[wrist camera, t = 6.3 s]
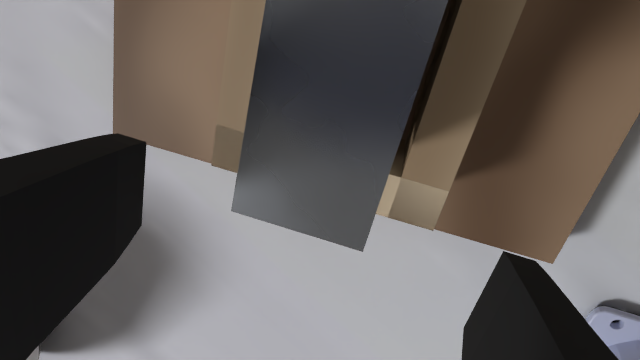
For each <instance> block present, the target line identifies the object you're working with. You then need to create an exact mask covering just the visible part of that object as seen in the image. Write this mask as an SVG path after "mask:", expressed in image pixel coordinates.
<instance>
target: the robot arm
mask: <svg viewBox="0 0 640 360" xmlns="http://www.w3.org/2000/svg"><path fill="white" fill-rule="evenodd" d="M145 156H146V142H145V141H142V140H138V139H135V138H132V137H129V136H125V135H122V134H119V133H116V134H108V135H102V136H97V137H92V138H88V139H83V140H79V141H75V142H70V143H66V144H62V145H58V146H54V147H50V148H46V149H41V150H37V151H33V152H29V153H25V154H20V155H16V156H12V157H8V158H3V159H0V360H26V359H27V358H28V357H29V356H30V355H31V353H32V352H33V351H34V350H35V349H36V348H37V347H38V346H39V344H40V343H41V342H42V341H43V340H44V339H45V338H46V337H47V336H48V335H49V334H50V333H51V332H52V331H53V330H54V328H55V327H56V326H57V325H58V324H59V323H60V322H61V321H62V320H63V319H64V318H65V317H66V316H67V315H68V314H69V312H70V311H71V310H72V309H73V308H74V307H75V306H76V305H77V304H78V303H79V302H80V301H81V300H82V299H83V298H84V297H85V295H86V294H87V293H88V292H89V291H90V290H91V289H92V288H93V287H94V286H95V285H96V284H97V282H98V281H99V280H100V279H101V278H102V277H103V276H104V275H105V274H106V273H107V272H108V270H109V269H110V268H111V267H112V266H113V265H114V264H115V262H116V261H117V260H118V258H119V257H120V256H121V254H122V253H123V251H124V250H125V249H126V247H127V246H128V244H129V243H130V241H131V240H132V238H133V237H134V235H135V234H136V232H137V231H138V230H139V228H140V227H141V224H142V207H143V190H144V173H145ZM614 320H620V321H619V322H616V323H611V322H612V321H614ZM462 360H640V316H638V315H634V314H631V313H628V312H624V311H621V310H618V309H614V308H611V307H606V306H600V307H597V308H595V309H593V310H592V311H591V312H590V314H589V315H588V317H587V318H586V320H585V319H584V318H583V316H582V315H581V314H580V313H579V312H578V310H577V309H576V308H575V307H574V305H573V304H572V303H571V302H570V300H569V299H568V298H567V297H566V296H565V294H564V293H563V292H562V291H561V289H560V288H559V287H558V286H557V285H556V283H555V282H554V281H553V280H552V279H551V277H550V276H549V275H548V274H547V273H546V272H545V271H544V269H543V268H542V267H541V266H540V265H539V264H538V263H537V262H536V261H534V260H530V259H527V258H524V257H521V256H517V255H514V254H511V253H507V252H504V251H503V253H502V255H501V257H500V259H499V261H498V263H497V265H496V267H495V269H494V270H493V272H492V274H491V276H490V278H489V280H488V282H487V284H486V286H485V288H484V290H483V292H482V294H481V296H480V297H479V299H478V301H477V303H476V305H475V307H474V309H473V311H472V313H471V315H470V317H469V319H468V321H467V323H466V324H465V326H464V332H463V347H462Z"/></svg>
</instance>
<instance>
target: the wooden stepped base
mask: <svg viewBox="0 0 640 360" xmlns="http://www.w3.org/2000/svg"><path fill="white" fill-rule="evenodd" d="M265 3H266V0H114V78H113V134H116V133H119V134H122V135H125V136H129V137H132V138H135V139H138V140H142V141H145V142H146V144H147V145H150V146H154V147H157V148H161V149H164V150H167V151H171V152H174V153H178V154H181V155H184V156H188V157H191V158H195V159H198V160H201V161H205V162H208V163H212V164H211V165H212V166H215V167H219V168H222V169H225V170H229V171H232V172H235V173H238V167H239V161H240V155H241V148H242V142H243V136H244V130H245V124H246V118H247V112H248V106H249V100H250V94H251V88H252V82H253V76H254V69H255V63H256V57H257V51H258V45H259V39H260V33H261V27H262V21H263V15H264V9H265ZM639 113H640V0H448V3H447V6H446V8H445V11H444V14H443V17H442V20H441V23H440V26H439V29H438V32H437V35H436V38H435V41H434V44H433V47H432V50H431V53H430V55H429V58H428V61H427V64H426V67H425V70H424V73H423V76H422V79H421V82H420V85H419V88H418V91H417V94H416V97H415V100H414V102H413V105H412V108H411V111H410V114H409V117H408V120H407V123H406V126H405V129H404V132H403V135H402V138H401V141H400V144H399V147H398V149H397V152H396V155H395V158H394V161H393V164H392V167H391V170H390V173H389V176H388V179H387V182H386V185H385V188H384V191H383V194H382V196H381V199H380V202H379V205H378V208H377V211H376V214H378V215H381V216H385V217H388V218H392V219H395V220H398V221H402V222H405V223H409V224H412V225H415V226H419V227H422V228H426V229H429V230H432V231H433V230H434V229H436V230H439V231H443V232H446V233H449V234H453V235H456V236H460V237H463V238H466V239H470V240H473V241H477V242H480V243H483V244H487V245H490V246H494V247H497V248H500V249H504V250H507V251H511V252H514V253H517V254H521V255H524V256H528V257H531V258H534V259H538V260H541V261H545V262H548V263H551V264H553V262H554V261H555V259H556V257H557V255H558V254H559V252H560V250H561V248H562V247H563V245H564V243H565V242H566V240H567V238H568V236H569V235H570V233H571V231H572V229H573V228H574V226H575V224H576V222H577V221H578V219H579V217H580V215H581V214H582V212H583V210H584V209H585V207H586V205H587V203H588V202H589V200H590V198H591V196H592V195H593V193H594V191H595V189H596V188H597V186H598V184H599V183H600V181H601V179H602V177H603V176H604V174H605V172H606V170H607V169H608V167H609V165H610V163H611V162H612V160H613V158H614V157H615V155H616V153H617V151H618V150H619V148H620V146H621V144H622V143H623V141H624V139H625V137H626V136H627V134H628V132H629V130H630V129H631V127H632V125H633V124H634V122H635V120H636V118H637V117H638V115H639Z"/></svg>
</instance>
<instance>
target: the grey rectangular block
mask: <svg viewBox="0 0 640 360" xmlns="http://www.w3.org/2000/svg"><path fill="white" fill-rule="evenodd" d="M447 3H448V0H266V3H265V9H264V15H263V21H262V27H261V33H260V39H259V45H258V51H257V57H256V63H255V69H254V76H253V82H252V88H251V94H250V100H249V106H248V112H247V118H246V124H245V130H244V136H243V142H242V148H241V155H240V161H239V167H238V173H237V179H236V185H235V191H234V197H233V203H232V209H231V211H233V212H236V213H239V214H242V215H246V216H249V217H252V218H255V219H259V220H262V221H265V222H268V223H271V224H275V225H278V226H281V227H284V228H288V229H291V230H294V231H297V232H301V233H304V234H307V235H310V236H314V237H317V238H320V239H323V240H326V241H330V242H333V243H336V244H339V245H343V246H346V247H349V248H352V249H356V250H359V251H362V252H363V249H364V246H365V243H366V241H367V238H368V235H369V232H370V229H371V226H372V223H373V220H374V217H375V214H376V211H377V208H378V205H379V202H380V199H381V196H382V194H383V191H384V188H385V185H386V182H387V179H388V176H389V173H390V170H391V167H392V164H393V161H394V158H395V155H396V152H397V149H398V147H399V144H400V141H401V138H402V135H403V132H404V129H405V126H406V123H407V120H408V117H409V114H410V111H411V108H412V105H413V102H414V100H415V97H416V94H417V91H418V88H419V85H420V82H421V79H422V76H423V73H424V70H425V67H426V64H427V61H428V58H429V55H430V53H431V50H432V47H433V44H434V41H435V38H436V35H437V32H438V29H439V26H440V23H441V20H442V17H443V14H444V11H445V8H446V6H447Z"/></svg>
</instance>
